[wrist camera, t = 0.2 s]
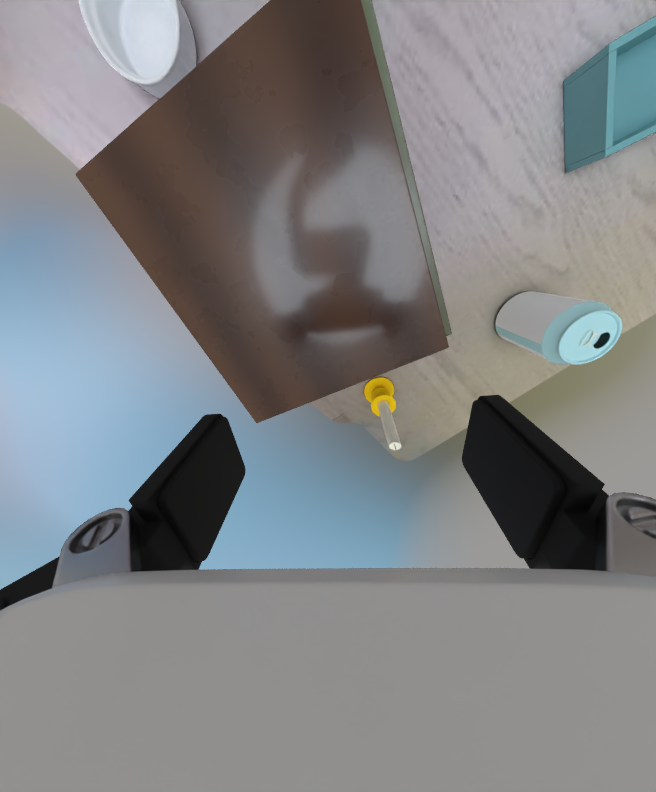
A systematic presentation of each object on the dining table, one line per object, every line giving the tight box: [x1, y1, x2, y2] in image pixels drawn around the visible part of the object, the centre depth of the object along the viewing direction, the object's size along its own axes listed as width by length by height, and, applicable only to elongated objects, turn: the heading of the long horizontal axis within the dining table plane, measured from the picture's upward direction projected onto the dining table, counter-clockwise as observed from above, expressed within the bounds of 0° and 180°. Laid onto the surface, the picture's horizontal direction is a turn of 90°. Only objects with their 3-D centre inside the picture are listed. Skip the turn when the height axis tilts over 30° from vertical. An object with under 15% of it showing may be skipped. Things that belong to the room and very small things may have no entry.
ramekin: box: [78, 0, 196, 98], centre depth 23 cm, size 9×9×4 cm
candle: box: [364, 377, 401, 450], centre depth 36 cm, size 5×5×16 cm
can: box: [496, 291, 622, 365], centre depth 31 cm, size 7×7×12 cm
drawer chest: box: [76, 0, 452, 423], centre depth 25 cm, size 17×18×22 cm
